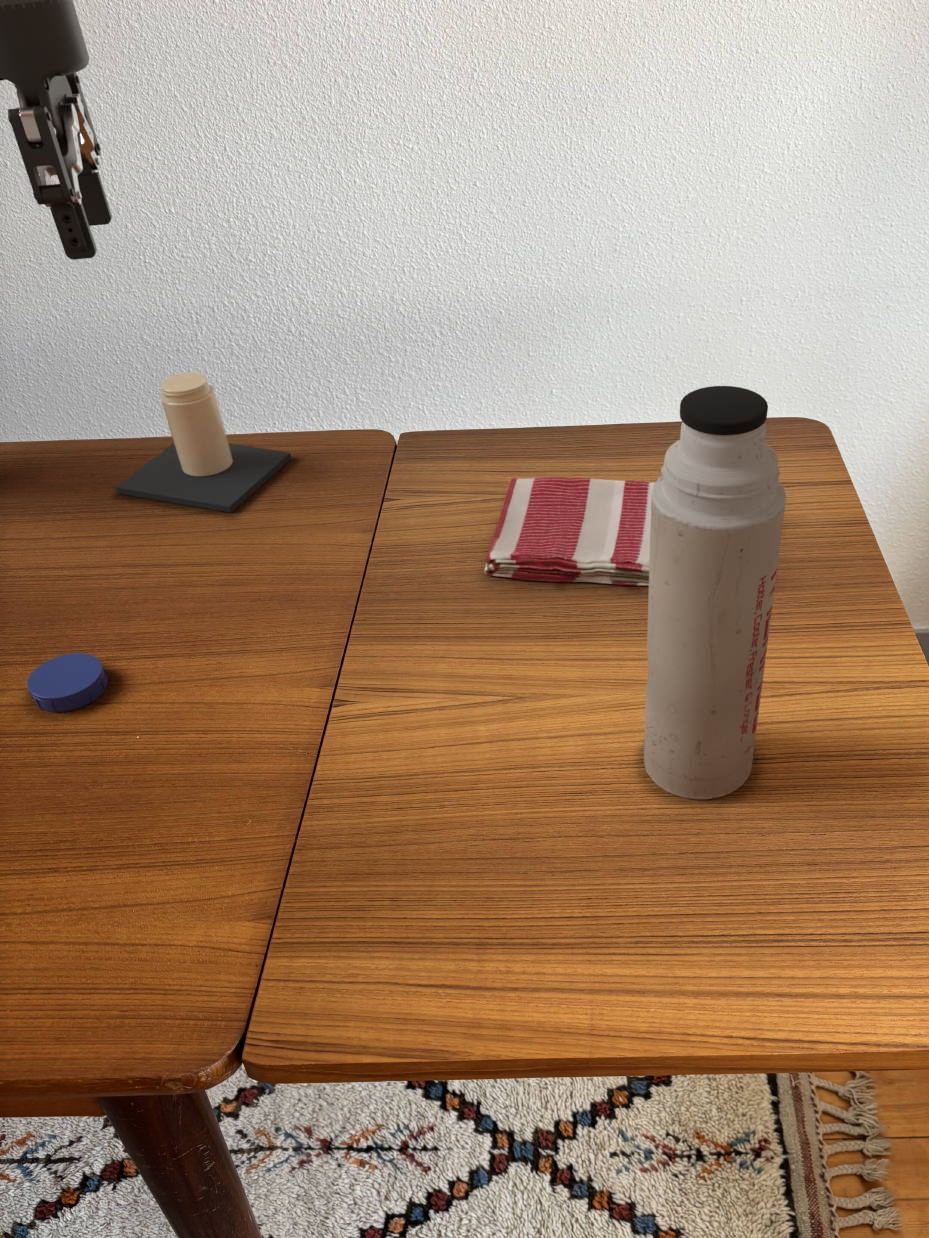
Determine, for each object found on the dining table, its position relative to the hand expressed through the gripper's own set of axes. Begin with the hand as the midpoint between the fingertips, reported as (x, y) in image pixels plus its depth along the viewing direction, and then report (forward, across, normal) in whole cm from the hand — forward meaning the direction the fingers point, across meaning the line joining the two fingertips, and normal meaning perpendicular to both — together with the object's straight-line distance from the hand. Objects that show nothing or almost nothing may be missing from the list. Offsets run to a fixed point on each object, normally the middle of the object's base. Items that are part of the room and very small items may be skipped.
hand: (91, 240), depth 83 cm
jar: (+27, +14, -1) cm, 31 cm away
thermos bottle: (+28, -40, -40) cm, 64 cm away
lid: (+27, -21, +8) cm, 35 cm away
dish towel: (+28, -9, -41) cm, 51 cm away
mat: (+28, +13, -1) cm, 31 cm away
